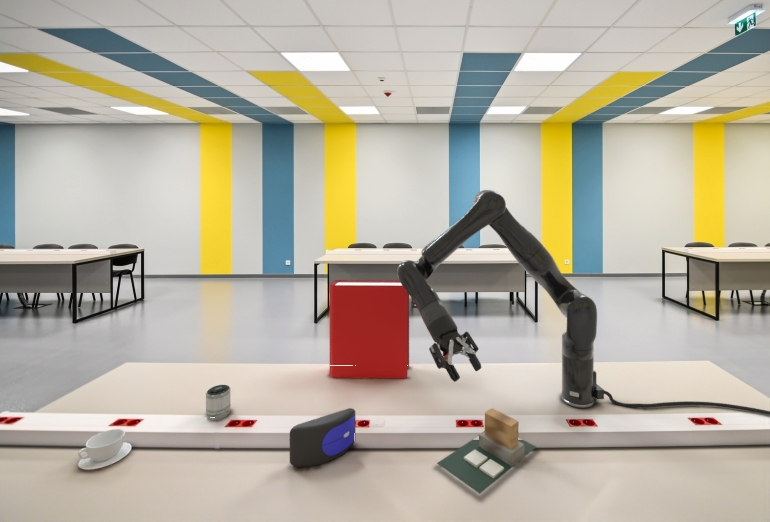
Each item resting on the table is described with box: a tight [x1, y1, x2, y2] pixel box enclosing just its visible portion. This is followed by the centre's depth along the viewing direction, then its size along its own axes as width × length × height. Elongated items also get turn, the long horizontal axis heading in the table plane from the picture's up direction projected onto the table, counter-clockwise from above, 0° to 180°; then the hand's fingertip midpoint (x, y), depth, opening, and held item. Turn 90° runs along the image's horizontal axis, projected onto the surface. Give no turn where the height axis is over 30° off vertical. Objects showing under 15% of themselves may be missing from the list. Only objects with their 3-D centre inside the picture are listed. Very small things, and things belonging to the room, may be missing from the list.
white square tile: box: [464, 450, 488, 468], centre depth 95 cm, size 4×4×1 cm
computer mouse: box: [289, 407, 356, 468], centre depth 97 cm, size 16×5×9 cm, turn 123°
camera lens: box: [205, 384, 232, 422], centre depth 115 cm, size 6×6×8 cm
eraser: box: [478, 407, 525, 467], centre depth 98 cm, size 10×5×8 cm, turn 44°
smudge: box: [480, 459, 504, 478], centre depth 91 cm, size 4×4×1 cm
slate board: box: [436, 439, 537, 495], centre depth 97 cm, size 22×13×1 cm, turn 134°
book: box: [329, 279, 410, 379], centre depth 142 cm, size 27×8×32 cm, turn 89°
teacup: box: [77, 428, 132, 470], centre depth 97 cm, size 10×10×5 cm
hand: (468, 374), depth 106 cm, fingers open, 8 cm apart
